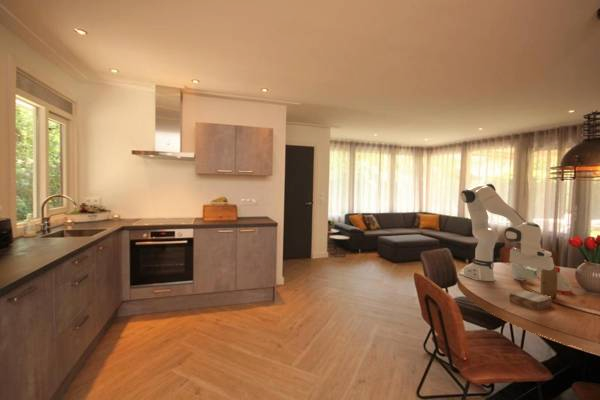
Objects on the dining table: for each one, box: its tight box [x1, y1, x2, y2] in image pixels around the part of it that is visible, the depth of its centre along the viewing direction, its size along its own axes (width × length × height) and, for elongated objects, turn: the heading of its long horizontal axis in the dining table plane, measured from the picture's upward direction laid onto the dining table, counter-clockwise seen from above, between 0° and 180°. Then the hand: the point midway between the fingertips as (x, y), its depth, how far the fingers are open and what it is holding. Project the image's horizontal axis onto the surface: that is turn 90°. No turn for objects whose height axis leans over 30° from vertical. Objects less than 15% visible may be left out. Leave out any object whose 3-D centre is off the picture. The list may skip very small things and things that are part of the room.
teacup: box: [509, 263, 532, 281], centre depth 203 cm, size 12×15×10 cm
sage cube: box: [523, 267, 538, 280], centre depth 159 cm, size 5×5×5 cm
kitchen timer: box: [557, 266, 572, 294], centre depth 181 cm, size 14×14×15 cm
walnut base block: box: [509, 289, 553, 311], centre depth 159 cm, size 14×14×5 cm
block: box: [540, 264, 558, 298], centre depth 170 cm, size 11×8×20 cm
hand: (530, 274), depth 159 cm, fingers closed on sage cube, 5 cm apart
